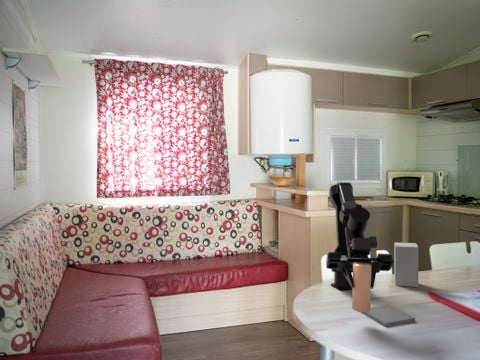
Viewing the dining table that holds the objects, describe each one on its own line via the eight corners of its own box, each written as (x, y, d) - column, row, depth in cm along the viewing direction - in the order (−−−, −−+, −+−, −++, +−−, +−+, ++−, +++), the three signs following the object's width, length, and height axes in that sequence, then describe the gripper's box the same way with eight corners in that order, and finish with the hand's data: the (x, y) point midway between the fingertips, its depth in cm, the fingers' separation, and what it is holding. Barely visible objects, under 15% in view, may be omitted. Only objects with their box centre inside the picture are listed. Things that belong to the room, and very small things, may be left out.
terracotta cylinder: (348, 306, 108) (349, 262, 107) (362, 304, 110) (363, 261, 109) (359, 313, 103) (360, 267, 103) (374, 311, 105) (375, 265, 104)
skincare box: (416, 282, 144) (417, 242, 143) (418, 288, 137) (420, 246, 137) (392, 280, 147) (394, 241, 146) (394, 286, 140) (395, 244, 139)
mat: (360, 311, 116) (360, 308, 115) (388, 307, 119) (388, 304, 119) (384, 326, 105) (384, 323, 105) (415, 321, 109) (415, 318, 109)
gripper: (327, 225, 110) (332, 272, 100) (392, 226, 108) (404, 275, 98) (324, 245, 118) (328, 291, 108) (384, 247, 116) (394, 294, 106)
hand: (362, 287), depth 105 cm, fingers closed on terracotta cylinder, 5 cm apart
